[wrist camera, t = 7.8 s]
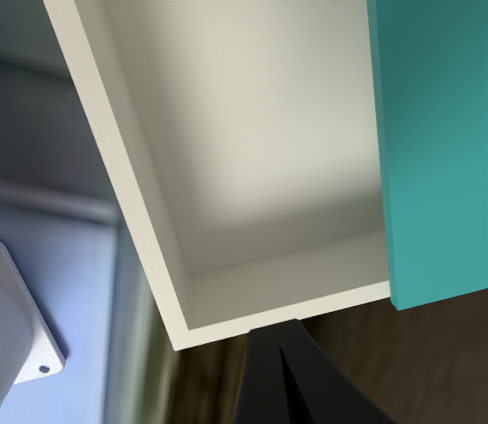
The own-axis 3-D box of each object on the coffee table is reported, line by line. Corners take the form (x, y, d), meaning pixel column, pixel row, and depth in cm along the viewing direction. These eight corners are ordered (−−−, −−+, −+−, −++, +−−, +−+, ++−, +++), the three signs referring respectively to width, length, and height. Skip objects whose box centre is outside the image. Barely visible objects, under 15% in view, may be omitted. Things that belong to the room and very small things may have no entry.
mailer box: (179, 287, 20) (174, 350, 15) (31, -153, 13) (-55, -261, 9) (439, 222, 20) (506, 267, 16) (431, -244, 13) (545, -393, 9)
